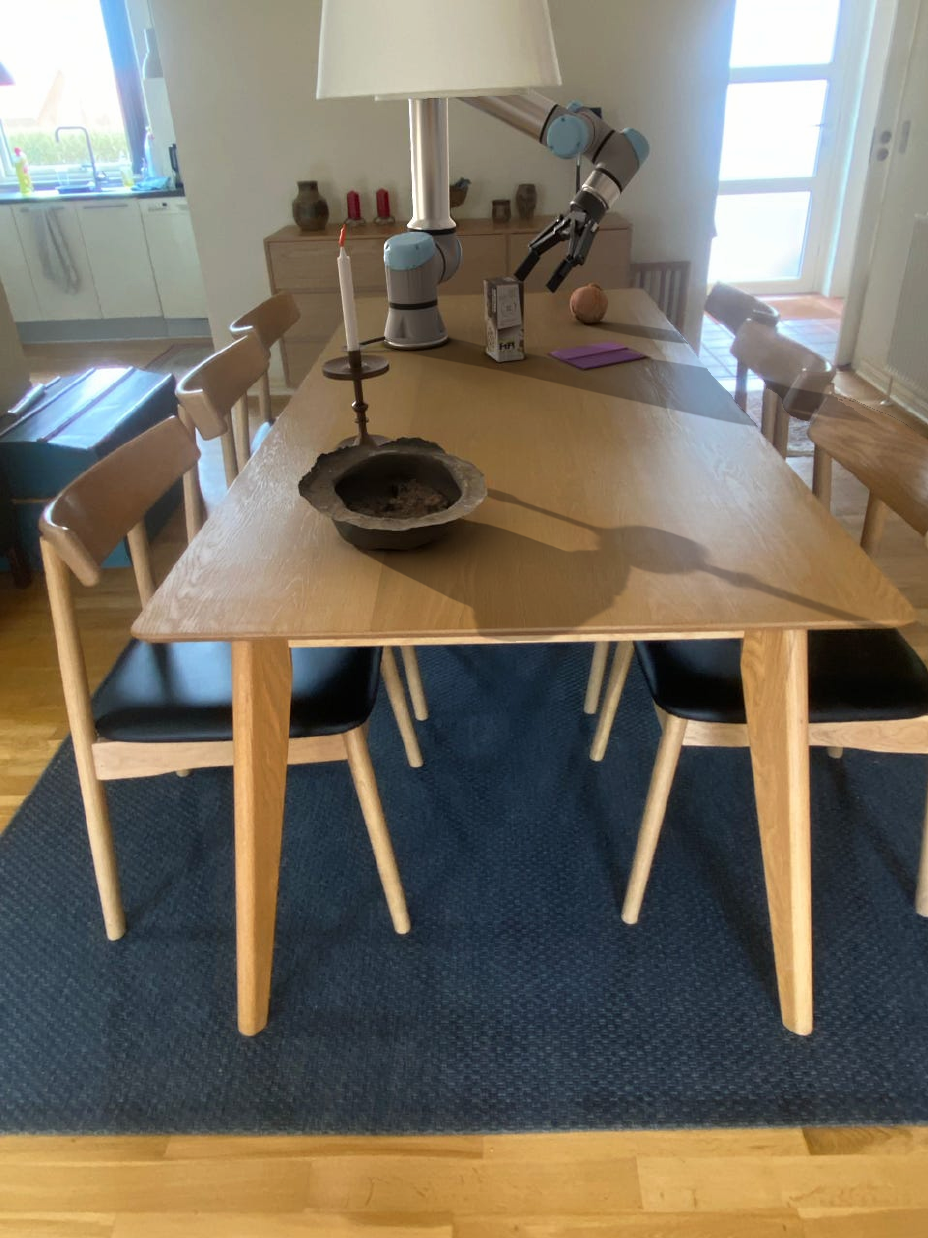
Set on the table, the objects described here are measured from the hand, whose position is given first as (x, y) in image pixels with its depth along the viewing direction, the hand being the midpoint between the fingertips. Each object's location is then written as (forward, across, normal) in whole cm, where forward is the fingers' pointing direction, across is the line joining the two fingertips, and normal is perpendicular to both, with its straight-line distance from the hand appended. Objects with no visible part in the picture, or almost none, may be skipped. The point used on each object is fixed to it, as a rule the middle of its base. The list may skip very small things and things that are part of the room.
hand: (532, 283), depth 180 cm
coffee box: (+16, 0, -5) cm, 16 cm away
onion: (-7, +15, -28) cm, 32 cm away
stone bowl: (+53, -68, +32) cm, 92 cm away
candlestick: (+49, -37, +28) cm, 67 cm away
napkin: (+3, -12, -17) cm, 21 cm away
